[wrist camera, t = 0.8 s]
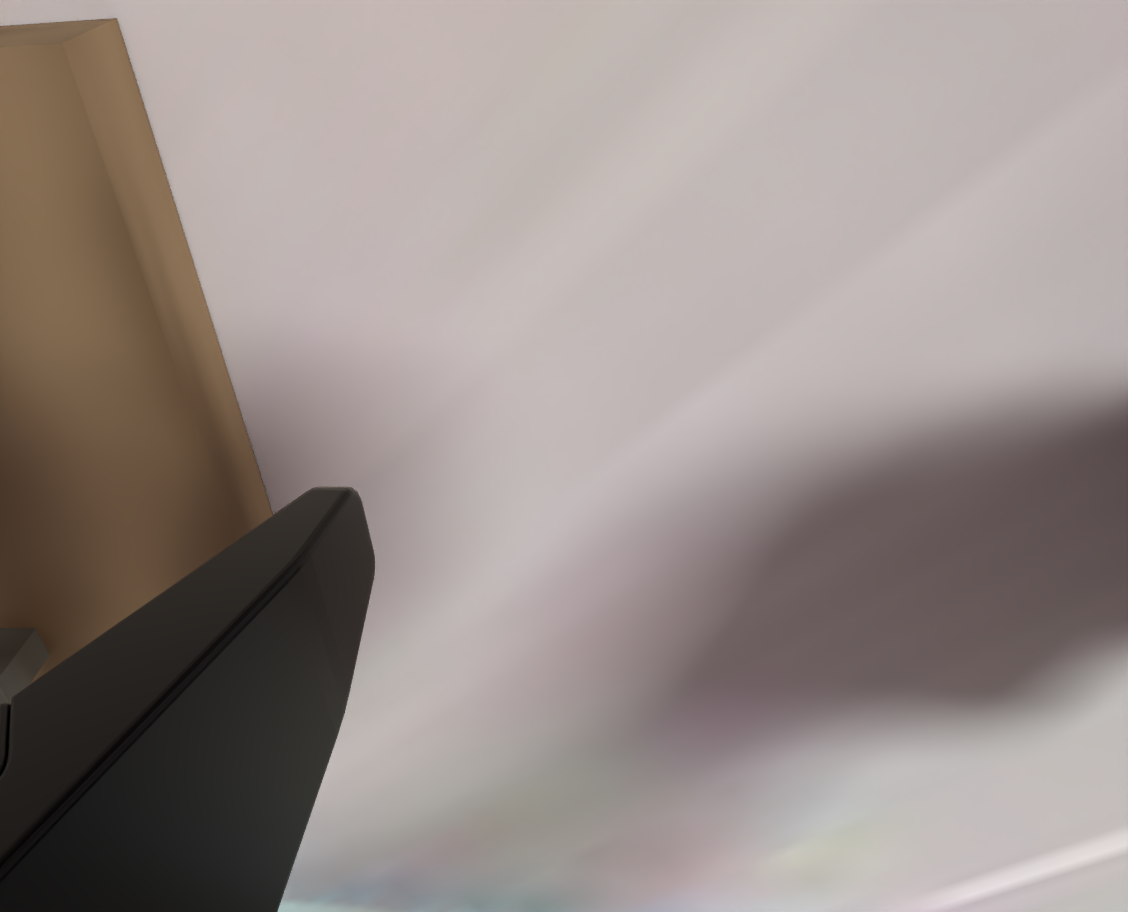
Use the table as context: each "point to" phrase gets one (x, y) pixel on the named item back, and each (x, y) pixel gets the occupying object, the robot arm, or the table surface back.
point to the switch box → (100, 360)
